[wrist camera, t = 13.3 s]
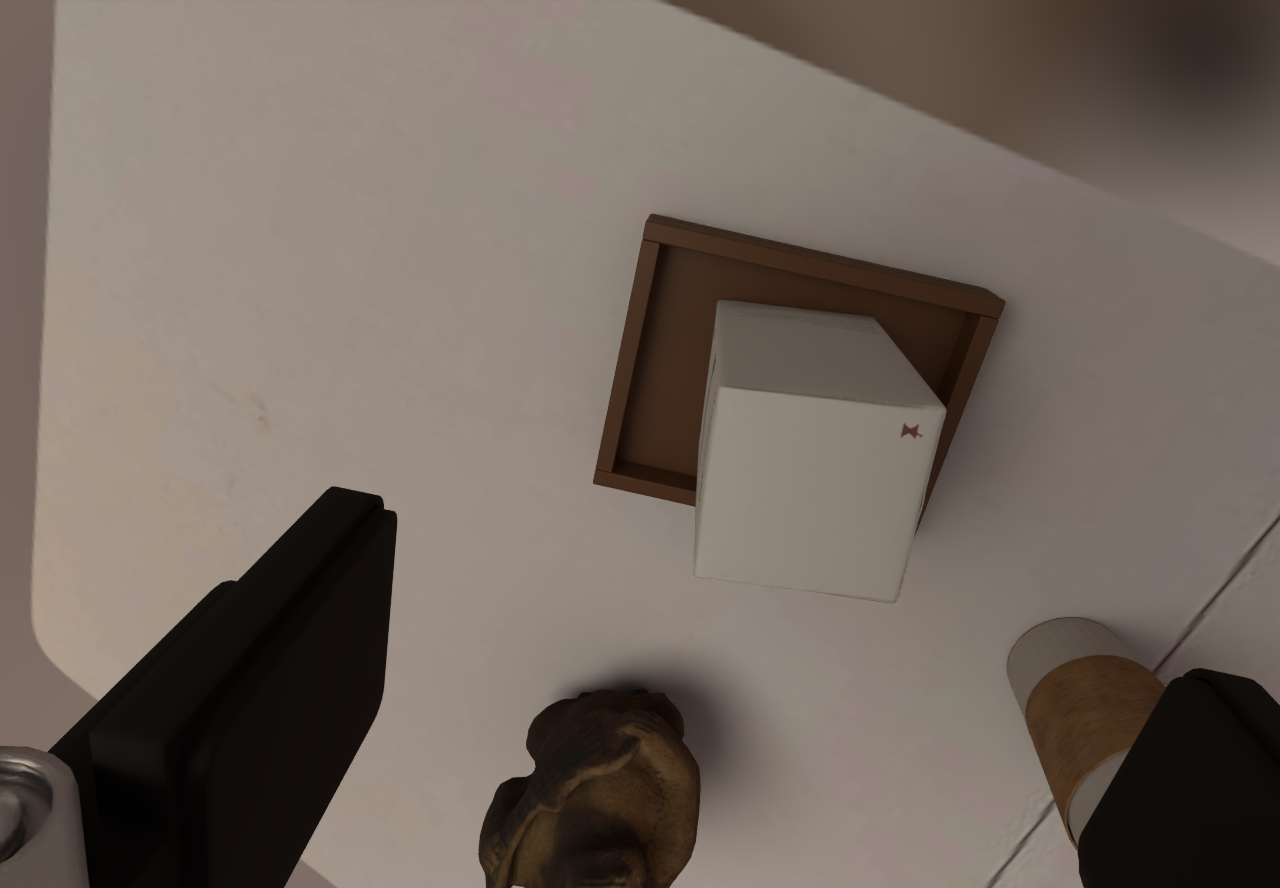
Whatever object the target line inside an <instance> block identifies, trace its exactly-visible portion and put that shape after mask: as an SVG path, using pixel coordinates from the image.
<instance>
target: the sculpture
mask: <svg viewBox="0 0 1280 888" xmlns="http://www.w3.org/2000/svg"><path fill="white" fill-rule="evenodd" d="M683 736H684V725H683V719H682V716H681V713H680V712H679V710H678V709H677V708H676V706H675V705H674V704H673V703H672V702H671V701H670V700H669V699H668V697H667V696H666V695H665V694H664V693H653V694H649V692H648V691H646V690H645V689H636V690H634V691H633V692H632V693H631V694H630V695H628V694H625V693H622V692H619V691H615V690H606V689H600V690H596V691H595V692H594V693H581V694H580V695H579V696H578V697H577V699H562V700H560V701H557V702H555V703H554V704H552V705H550V706H548V707H547V708H545V709H544V710H543V711H542V712H541V713H540V714H539V715H537V716H536V717H535V718H534V720H533V722H532V723H531V725H530V728H529V730H528V737H527V741H526V747H527V750H528V752H529V753H530V755H531V757H532V758H533V759H534V761H535V765H536V768H535V770H534V772H533V773H532V774H531V775H529V776H527V777H514V778H511V779H509V780H507V781H505V782H503V783H502V784H500V785H499V787H498V789H497V791H496V793H495V796H494V798H493V801H492V803H491V805H490V807H489V809H488V811H487V813H486V816H485V819H484V822H483V826H482V830H481V834H480V840H479V861H480V864H481V866H482V868H483V870H484V872H485V877H486V888H511V887H512V886H513V885H515V886H522V887H525V888H669V887H670V886H671V884H672V883H673V882H674V880H675V879H676V878H677V876H678V875H679V874H680V873H681V871H682V870H683V869H684V867H685V866H686V865H687V863H688V861H689V860H690V858H691V856H692V853H693V849H694V846H695V843H696V835H697V825H698V818H699V806H700V790H701V785H700V770H699V766H698V764H697V762H696V760H695V759H694V757H693V755H692V754H691V752H690V750H689V749H688V747H687V746H686V745H685V744H684V742H683V741H682V739H683Z"/></svg>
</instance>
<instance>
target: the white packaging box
mask: <svg viewBox="0 0 1280 888" xmlns="http://www.w3.org/2000/svg"><path fill="white" fill-rule="evenodd" d="M946 412H947V411H946V408H945V406H944V405H943V404H942V402H941V401H940V400H939V399H938V397H937V396H936V395H935V394H934V392H933V391H932V390H931V389H930V387H929V386H928V385H927V383H926V382H925V381H924V380H923V378H922V377H921V376H920V375H919V373H918V372H917V371H916V370H915V368H914V367H913V366H912V365H911V363H910V362H909V361H908V359H907V358H906V357H905V356H904V354H903V353H902V352H901V351H900V349H899V348H898V347H897V346H896V345H895V343H894V342H893V341H892V339H891V338H890V337H889V336H888V334H887V333H886V332H885V331H884V329H883V328H882V327H881V326H880V324H879V323H878V322H877V321H876V319H875V318H874V317H871V316H863V315H854V314H846V313H837V312H827V311H819V310H810V309H800V308H792V307H783V306H774V305H766V304H757V303H749V302H740V301H730V300H719V301H718V302H717V309H716V319H715V326H714V334H713V341H712V349H711V356H710V363H709V370H708V378H707V385H706V393H705V401H704V409H703V417H702V425H701V433H700V439H699V453H698V470H697V489H696V516H695V547H694V569H693V575H694V576H695V577H698V578H707V579H715V580H722V581H730V582H738V583H747V584H755V585H763V586H771V587H779V588H787V589H796V590H804V591H811V592H817V593H824V594H831V595H837V596H844V597H850V598H858V599H865V600H872V601H878V602H885V603H895V602H896V601H897V599H898V598H899V595H900V591H901V587H902V583H903V580H904V575H905V571H906V567H907V563H908V559H909V555H910V551H911V547H912V543H913V539H914V535H915V531H916V527H917V523H918V520H919V517H920V513H921V511H922V507H923V503H924V499H925V492H926V488H927V484H928V480H929V476H930V472H931V468H932V464H933V460H934V456H935V453H936V449H937V445H938V441H939V437H940V433H941V429H942V426H943V422H944V419H945V416H946Z"/></svg>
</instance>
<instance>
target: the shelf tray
mask: <svg viewBox="0 0 1280 888" xmlns="http://www.w3.org/2000/svg"><path fill="white" fill-rule="evenodd" d="M719 300H730V301H740V302H749V303H757V304H766V305H774V306H783V307H792V308H800V309H810V310H819V311H827V312H837V313H846V314H854V315H863V316H871V317H874V318H875V319H876V321H877V322H878V323H879V324H880V326H881V327H882V328H883V329H884V331H885V332H886V333H887V334H888V336H889V337H890V338H891V339H892V341H893V342H894V343H895V345H896V346H897V347H898V348H899V349H900V351H901V352H902V353H903V354H904V356H905V357H906V358H907V359H908V361H909V362H910V363H911V365H912V366H913V367H914V368H915V370H916V371H917V372H918V373H919V375H920V376H921V377H922V378H923V380H924V381H925V382H926V383H927V385H928V386H929V387H930V389H931V390H932V391H933V392H934V394H935V395H936V396H937V397H938V399H939V400H940V401H941V402H942V404H943V405H944V406H945V408H946V411H947V412H946V416H945V419H944V422H943V426H942V429H941V433H940V437H939V441H938V445H937V449H936V453H935V456H934V460H933V464H932V468H931V472H930V476H929V480H928V484H927V488H926V492H925V499H924V503H923V507H922V511H921V513H920V517H919V520H918V523H917V527H916V531H917V529H918V526H919V524H920V521H921V519H922V516H923V514H924V511H925V508H926V506H927V503H928V501H929V498H930V496H931V493H932V490H933V488H934V485H935V483H936V480H937V478H938V475H939V472H940V470H941V467H942V465H943V462H944V460H945V457H946V454H947V452H948V449H949V447H950V444H951V442H952V439H953V436H954V434H955V431H956V429H957V426H958V424H959V421H960V418H961V416H962V413H963V411H964V408H965V406H966V403H967V400H968V398H969V395H970V393H971V390H972V388H973V385H974V383H975V380H976V377H977V375H978V372H979V370H980V367H981V365H982V362H983V359H984V357H985V354H986V352H987V349H988V347H989V344H990V341H991V339H992V336H993V334H994V331H995V329H996V326H997V323H998V319H999V318H1000V316H1001V314H1002V311H1003V308H1004V306H1005V303H1006V301H1005V300H1003V299H1001V298H1000V297H998V296H997V295H995V294H993V293H992V292H990V291H989V290H987V289H985V288H982V287H977V286H973V285H968V284H964V283H959V282H955V281H950V280H946V279H941V278H937V277H932V276H928V275H924V274H919V273H915V272H910V271H906V270H901V269H897V268H892V267H888V266H883V265H879V264H874V263H870V262H865V261H861V260H857V259H852V258H848V257H843V256H839V255H834V254H830V253H825V252H821V251H816V250H812V249H807V248H803V247H799V246H794V245H790V244H785V243H781V242H776V241H772V240H767V239H763V238H758V237H754V236H749V235H745V234H740V233H736V232H732V231H727V230H723V229H718V228H714V227H709V226H705V225H700V224H696V223H691V222H687V221H682V220H678V219H674V218H669V217H665V216H660V215H656V214H650V216H649V218H648V219H647V221H646V224H645V229H644V234H643V240H642V243H641V248H640V253H639V258H638V263H637V268H636V273H635V278H634V283H633V288H632V293H631V298H630V302H629V307H628V312H627V317H626V322H625V327H624V332H623V337H622V342H621V347H620V352H619V356H618V361H617V366H616V371H615V376H614V381H613V386H612V391H611V396H610V401H609V406H608V410H607V415H606V420H605V425H604V430H603V435H602V440H601V445H600V450H599V455H598V460H597V465H596V470H595V474H594V479H593V484H597V485H601V486H606V487H610V488H615V489H619V490H624V491H628V492H633V493H637V494H642V495H646V496H651V497H655V498H660V499H664V500H669V501H673V502H677V503H682V504H686V505H691V506H695V507H696V489H697V470H698V453H699V439H700V433H701V425H702V417H703V409H704V401H705V393H706V385H707V378H708V370H709V363H710V356H711V349H712V341H713V334H714V326H715V319H716V309H717V302H718V301H719ZM916 531H915V534H916ZM914 537H915V535H914Z"/></svg>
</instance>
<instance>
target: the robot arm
mask: <svg viewBox="0 0 1280 888" xmlns="http://www.w3.org/2000/svg"><path fill="white" fill-rule="evenodd" d="M396 533H397V514H396V513H395V511H390V510H385V509H384V503H383V499H382V498H381V496H378V495H374V494H369V493H364V492H359V491H355V490H350V489H345V488H340V487H330V488H329V489H328V490H326V491H325V492H324V493H323V494H322V495H321V497H320V498H319V499H318V500H317V501H316V502H315V503H314V504H313V505H312V506H311V507H310V508H309V509H308V510H307V511H306V512H305V513H304V514H303V515H302V516H301V517H300V518H299V519H298V520H297V521H296V522H295V523H294V524H293V525H292V526H291V527H290V528H289V529H288V530H287V531H286V532H285V533H284V534H283V535H282V536H281V537H280V538H279V539H278V540H277V541H276V542H275V543H274V544H273V545H272V546H271V547H270V548H269V549H268V551H267V552H266V553H265V554H264V555H263V556H262V557H261V558H260V559H259V560H258V561H257V562H256V563H255V564H254V565H253V566H252V567H251V568H250V569H249V570H248V571H247V572H246V573H245V574H244V575H243V576H242V577H241V578H240V579H239V580H238V581H233V580H230V581H226V582H222V583H221V584H219V585H218V586H217V587H215V588H214V589H213V590H211V591H210V592H209V593H208V594H207V595H206V596H205V597H204V598H203V599H202V600H201V601H200V602H199V603H198V604H197V605H196V606H195V607H194V608H193V609H192V610H191V611H190V612H189V613H188V614H187V615H186V616H185V617H184V618H183V619H182V620H181V621H180V622H179V623H178V624H177V625H176V626H175V627H174V628H173V629H172V630H171V631H170V632H169V633H168V634H167V635H166V636H165V637H164V638H163V639H162V640H161V641H160V642H159V643H158V644H157V645H156V646H154V647H153V648H152V649H151V650H150V651H149V652H148V653H147V654H146V655H145V656H144V657H143V658H142V659H141V660H140V661H139V662H138V663H137V664H136V665H135V666H134V667H133V668H132V669H131V670H130V671H129V672H128V673H127V674H126V675H125V676H124V677H123V678H122V679H121V680H120V681H119V682H118V683H117V684H116V685H115V686H114V687H113V688H112V689H111V690H110V691H109V692H108V693H107V694H106V695H105V696H104V697H103V698H102V699H101V700H100V701H99V702H98V703H97V704H96V705H95V706H94V707H93V708H92V709H91V710H89V712H87V714H86V715H84V717H82V718H81V719H80V720H79V721H78V722H77V723H76V724H75V725H74V726H73V727H72V728H71V729H70V730H69V731H68V732H67V733H66V734H65V735H64V736H63V737H62V738H61V739H60V740H59V741H58V742H57V743H56V744H55V745H54V746H53V747H52V748H51V749H50V750H49V751H48V752H44V751H40V750H37V749H33V748H30V747H19V746H0V888H284V887H285V885H286V883H287V881H288V879H289V877H290V876H291V874H292V872H293V870H294V868H295V866H296V864H297V863H298V861H299V859H300V857H301V855H302V853H303V851H304V850H305V848H306V846H307V844H308V842H309V840H310V839H311V837H312V835H313V833H314V831H315V829H316V827H317V826H318V824H319V822H320V820H321V818H322V816H323V814H324V813H325V811H326V809H327V807H328V805H329V803H330V801H331V800H332V798H333V796H334V794H335V792H336V790H337V789H338V787H339V785H340V783H341V781H342V779H343V777H344V776H345V774H346V772H347V770H348V768H349V766H350V764H351V763H352V761H353V759H354V757H355V755H356V753H357V751H358V750H359V748H360V746H361V744H362V742H363V740H364V739H365V737H366V735H367V733H368V731H369V729H370V727H371V726H372V724H373V722H374V720H375V718H376V716H377V713H378V710H379V707H380V704H381V701H382V696H383V691H384V682H385V670H386V657H387V645H388V632H389V620H390V607H391V595H392V582H393V570H394V558H395V545H396ZM1078 858H1079V863H1080V866H1081V868H1082V871H1083V873H1084V875H1085V877H1086V879H1087V881H1088V883H1089V885H1090V887H1091V888H1280V705H1279V704H1278V703H1277V702H1276V701H1275V700H1274V699H1273V698H1272V697H1271V696H1270V695H1269V694H1268V692H1267V691H1266V690H1265V689H1264V688H1263V687H1262V686H1261V685H1259V684H1258V683H1257V682H1255V681H1254V680H1252V679H1249V678H1245V677H1241V676H1236V675H1231V674H1227V673H1222V672H1217V671H1212V670H1207V669H1203V668H1198V669H1192V670H1190V671H1189V672H1187V673H1185V675H1184V676H1183V677H1177V678H1175V679H1174V680H1172V681H1171V682H1170V683H1169V684H1168V686H1167V687H1166V689H1165V691H1164V692H1163V694H1162V696H1161V697H1160V699H1159V701H1158V703H1157V704H1156V706H1155V708H1154V709H1153V711H1152V713H1151V715H1150V716H1149V718H1148V720H1147V721H1146V723H1145V725H1144V726H1143V728H1142V730H1141V732H1140V733H1139V735H1138V737H1137V738H1136V740H1135V742H1134V744H1133V745H1132V747H1131V749H1130V750H1129V752H1128V754H1127V756H1126V757H1125V759H1124V761H1123V762H1122V764H1121V766H1120V767H1119V769H1118V771H1117V773H1116V774H1115V776H1114V778H1113V779H1112V781H1111V783H1110V785H1109V786H1108V788H1107V790H1106V791H1105V793H1104V795H1103V797H1102V798H1101V800H1100V802H1099V803H1098V805H1097V807H1096V808H1095V810H1094V812H1093V814H1092V815H1091V817H1090V819H1089V820H1088V822H1087V824H1086V826H1085V827H1084V829H1083V831H1082V832H1081V835H1080V837H1079V842H1078Z"/></svg>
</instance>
